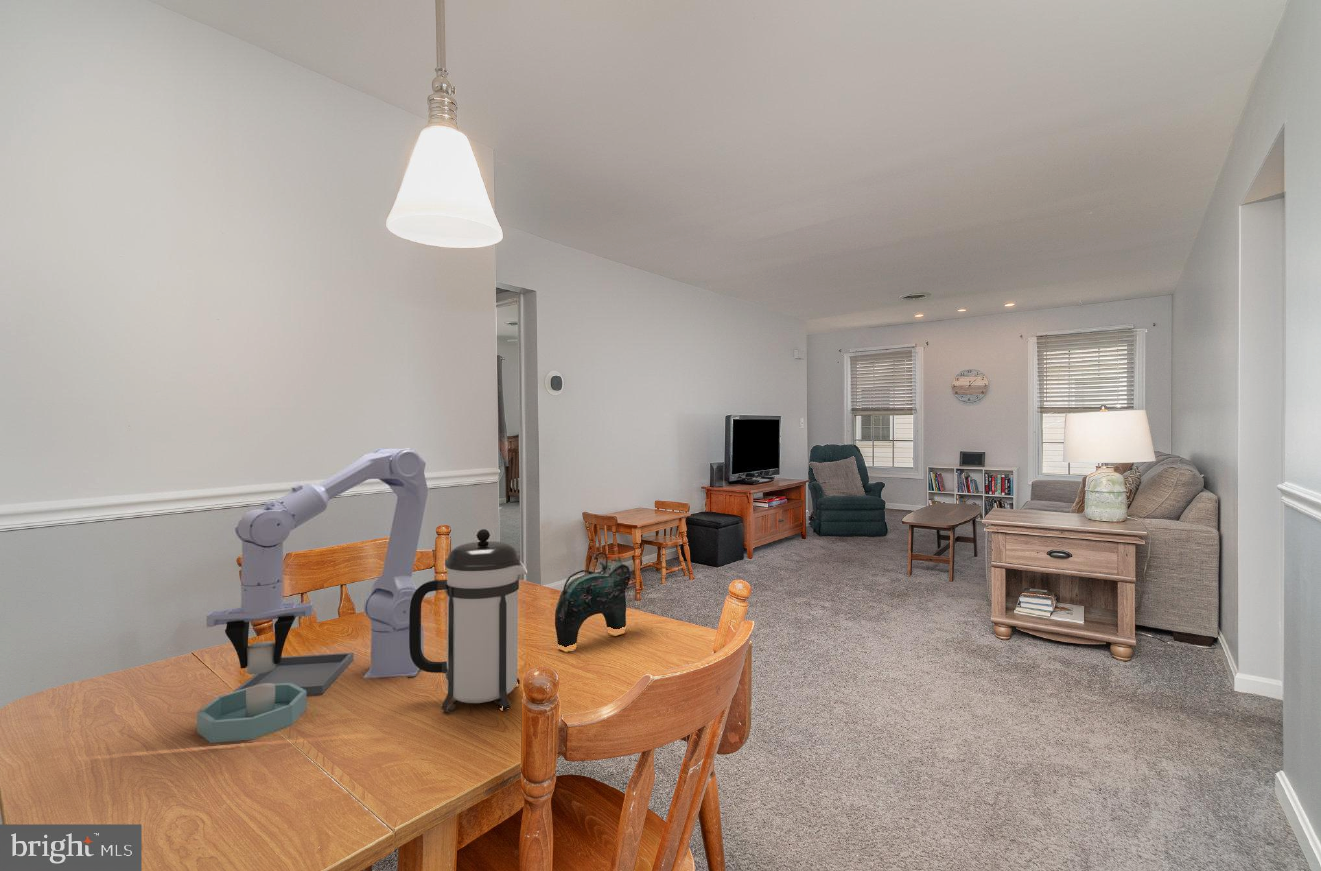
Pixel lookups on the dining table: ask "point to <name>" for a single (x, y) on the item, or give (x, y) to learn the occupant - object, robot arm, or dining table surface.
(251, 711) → the pebble
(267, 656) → the pebble
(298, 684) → the parts tray
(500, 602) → the coffee press
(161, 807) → the dining table surface
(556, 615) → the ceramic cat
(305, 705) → the bowl
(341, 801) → the dining table surface
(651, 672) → the dining table surface
